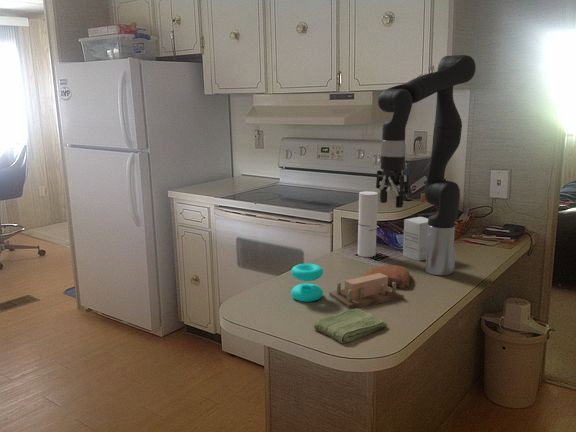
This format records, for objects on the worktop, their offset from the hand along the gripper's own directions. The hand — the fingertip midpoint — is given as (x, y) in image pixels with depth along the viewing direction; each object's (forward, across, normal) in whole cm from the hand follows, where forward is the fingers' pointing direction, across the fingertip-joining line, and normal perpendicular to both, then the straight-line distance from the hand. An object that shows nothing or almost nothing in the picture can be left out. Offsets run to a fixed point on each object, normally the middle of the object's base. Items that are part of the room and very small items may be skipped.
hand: (391, 204), depth 174 cm
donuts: (+28, +4, +28) cm, 40 cm away
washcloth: (+29, -22, +28) cm, 45 cm away
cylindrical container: (+28, +35, -14) cm, 47 cm away
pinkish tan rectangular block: (+27, -4, +11) cm, 29 cm away
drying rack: (+28, -4, +11) cm, 30 cm away
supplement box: (+28, +24, -31) cm, 48 cm away
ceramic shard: (+29, +6, -4) cm, 30 cm away
